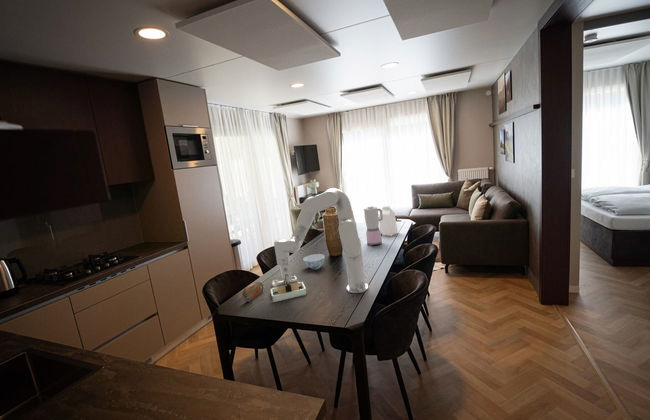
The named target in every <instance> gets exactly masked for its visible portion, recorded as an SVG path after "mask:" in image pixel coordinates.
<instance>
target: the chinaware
mask: <svg viewBox="0 0 650 420" xmlns="http://www.w3.org/2000/svg"><path fill="white" fill-rule="evenodd" d="M303 262H304V264H305V265H306V267H308V268H310V269H312V270H313V271H314V270H319V269H320V268H321V267H322V265H324V262H325V255H324V254H321V253H317V254H316V253H315V254H314V253H313V254H310V255H307V256H305V257H303Z"/></svg>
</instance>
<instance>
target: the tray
mask: <svg viewBox="0 0 650 420" xmlns="http://www.w3.org/2000/svg"><path fill="white" fill-rule="evenodd" d="M298 287H301V288H302V289H301V288H300V289H299V290H296V291H292V292H287V293H283V294H279V295H278V294H275V295H274V293H278V289H277V287H276V288H273V287H272V288H270V294H271V299H272V302H273V303H276V302H280V301H285V300H288V299H293V298H296V297H301V296H302V297H303V296H306V295H308V294H307V288H306V286H305V284H304V281H298Z"/></svg>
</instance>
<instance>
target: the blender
mask: <svg viewBox="0 0 650 420" xmlns="http://www.w3.org/2000/svg"><path fill="white" fill-rule="evenodd" d="M363 212H364V220H365V221H364V222H365V225H366V231H365V233H366V234H365V236H366V244H367V245H369V247H372V246H373V245H374V246H375V245H382V242H383V241H382V237H383V235H382V233H381V232H380V224H379V221H381V220H382V219H383V217H382V209H381V208H378V207H377V206H374V205H369V206H367V207H365V208H364V209H363ZM379 215H380V217H381V218H380V219H379Z"/></svg>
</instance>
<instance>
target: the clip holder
mask: <svg viewBox="0 0 650 420" xmlns="http://www.w3.org/2000/svg"><path fill="white" fill-rule="evenodd" d="M291 277H292V280H294V279H297V281H298V282H299V280H298V278H297V276H296V275H293V276H292V275H291ZM289 280H290V279H289ZM281 282H283V280H279V279H274V280H272V283H271V284H272V288H276V287H277V283H281Z"/></svg>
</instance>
